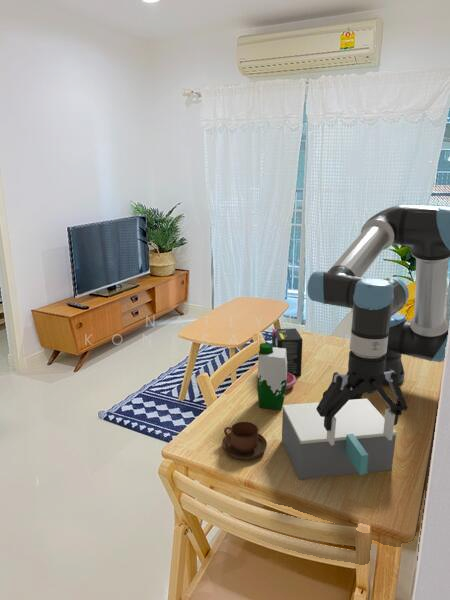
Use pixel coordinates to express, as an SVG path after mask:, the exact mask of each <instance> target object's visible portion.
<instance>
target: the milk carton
mask: <svg viewBox="0 0 450 600" xmlns="http://www.w3.org/2000/svg"><path fill="white" fill-rule="evenodd" d="M257 360H258V362H257V398H258V408H259V409H268V410H276V409H277V410H276V411H283V405H284V402H285V398H286V397H285V396H286V391H287V390H286V385H287V355H286V348H278V347H273V345H272V343H269V342H263V343H260V344H259V350H258V359H257Z"/></svg>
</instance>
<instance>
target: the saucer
mask: <svg viewBox="0 0 450 600" xmlns="http://www.w3.org/2000/svg"><path fill="white" fill-rule="evenodd" d="M295 384H296V376H294V375H293V374H291V373H289V372H287V385H286V391H288V390H289V389H291V388H292V387H293V386H294V385H295Z"/></svg>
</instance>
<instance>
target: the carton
mask: <svg viewBox="0 0 450 600" xmlns="http://www.w3.org/2000/svg"><path fill="white" fill-rule="evenodd" d="M281 422H282V423H281V424H282V425H281V443H282V445H283V447H284V449H285V452H286V454H287V456H288V458H289V461H290V462H291V465H292V467H293V470H294V471H295V474H296V476H297V479H298V480H299V481H300V480H307V479H317V478H318V479H319V478H326V477H336V476H347V475H357V474H358V475H359V473H358V471H357V470H356V468H355V467H354V465H353V464H352V462H351V460H350V459H349V457H348V456H347V454H346V453H345V449H346V440H337V441H334V445H330V443H329V442H328V441H327V442H316V443H305V444H301V443H300V441H299V439H298V437H297V435H296V433H295V431H294V429H293V427H292V425H291V423H290V421H289V419H288V417H287V415H286V413H285V411H284V409H283V408H282V421H281ZM396 438H397V435H393V437H392V440H388V439H387V438H386V436H381V437H370V438H359V439H357V440H358V441H359V443H360V444H361V445H362V447H363V448H364V449H365V451H366V452H367V454H368V465H367V473H376V472H385V471H387V472H388V471H392V470H393V463H394V455H395V446H396Z"/></svg>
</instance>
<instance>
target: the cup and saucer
mask: <svg viewBox="0 0 450 600" xmlns="http://www.w3.org/2000/svg"><path fill="white" fill-rule="evenodd" d="M227 430H229V431H230V433H228V432H227ZM223 431H224V435H225V436H224V437H223V439H222V440H221V441H222V442H221V445H222V449H223V450H224V452H225V453H226V454H227V455H230V456H231V457H233V458H236V459H240V460H250V459H254V458H257V457H259V456H261V455H262V454H263V453H264V452H266V450H267V446H268V443H267V440H266V438H265V437H264V436H263V435H262V434H260V433H259V427H258V426H257V425H256V424H254V423H252V422H250V421H239V422H236V423H234V424H232V425H231V427H229V426H226V427H224V430H223Z"/></svg>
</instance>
